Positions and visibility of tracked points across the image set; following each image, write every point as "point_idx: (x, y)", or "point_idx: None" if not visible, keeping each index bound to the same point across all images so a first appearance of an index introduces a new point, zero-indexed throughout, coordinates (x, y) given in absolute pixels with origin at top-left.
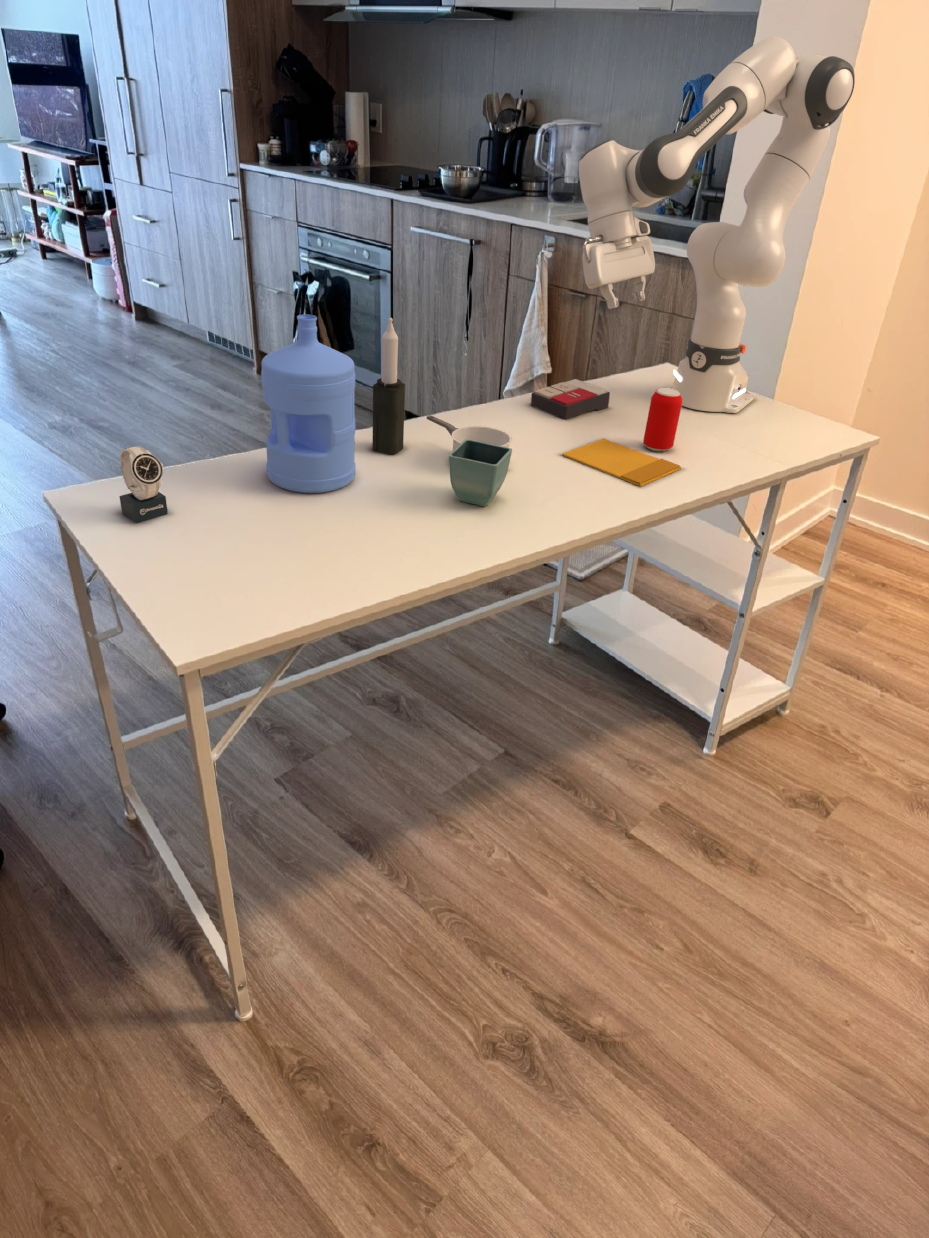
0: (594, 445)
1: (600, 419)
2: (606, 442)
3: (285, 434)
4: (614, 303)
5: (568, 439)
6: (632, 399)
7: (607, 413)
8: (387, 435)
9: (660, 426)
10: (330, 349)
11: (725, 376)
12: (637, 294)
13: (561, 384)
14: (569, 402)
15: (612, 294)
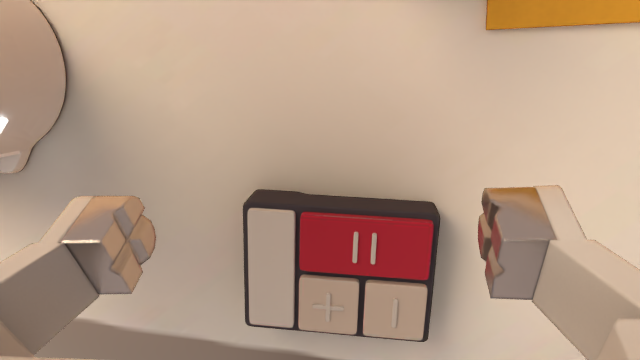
0: (564, 6)
1: (345, 147)
2: (509, 2)
3: None
4: (567, 205)
5: (564, 97)
6: (143, 193)
7: (289, 165)
8: None
9: None
10: None
11: None
12: (117, 253)
13: (327, 319)
14: (420, 221)
15: (616, 272)
